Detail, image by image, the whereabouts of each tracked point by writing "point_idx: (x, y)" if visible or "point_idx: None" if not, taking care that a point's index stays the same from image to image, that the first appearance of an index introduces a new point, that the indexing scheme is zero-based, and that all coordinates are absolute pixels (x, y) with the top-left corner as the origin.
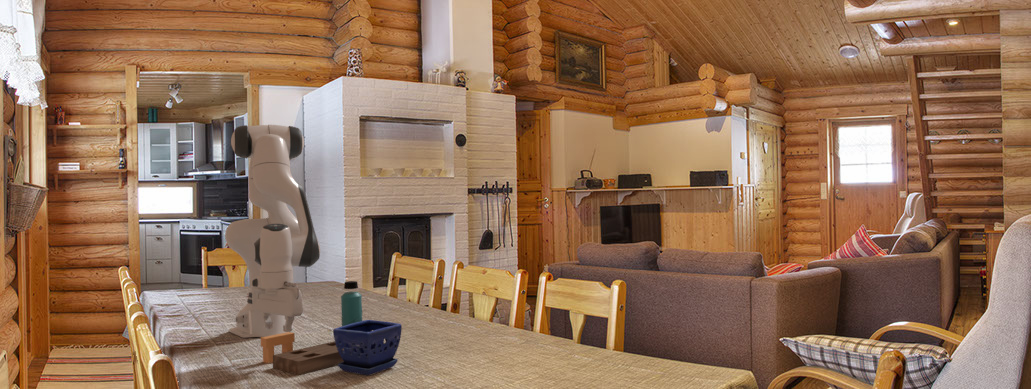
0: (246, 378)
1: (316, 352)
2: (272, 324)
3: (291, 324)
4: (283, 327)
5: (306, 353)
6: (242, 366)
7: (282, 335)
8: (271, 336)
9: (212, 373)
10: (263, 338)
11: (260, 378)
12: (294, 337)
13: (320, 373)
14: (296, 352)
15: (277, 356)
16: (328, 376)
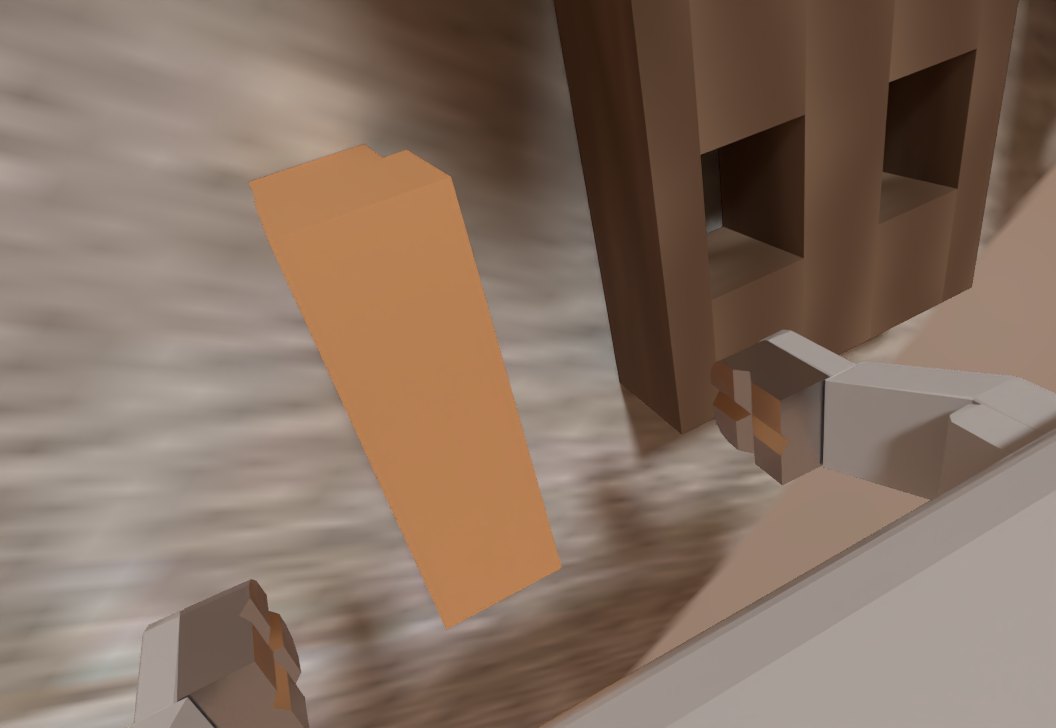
0: (719, 530)
1: (891, 52)
2: (248, 622)
3: (871, 371)
4: (764, 462)
5: (848, 156)
6: (415, 576)
7: (509, 383)
8: (468, 517)
9: (482, 711)
10: (508, 594)
11: None
12: (428, 163)
13: None
14: (697, 213)
15: None
16: (1039, 99)
